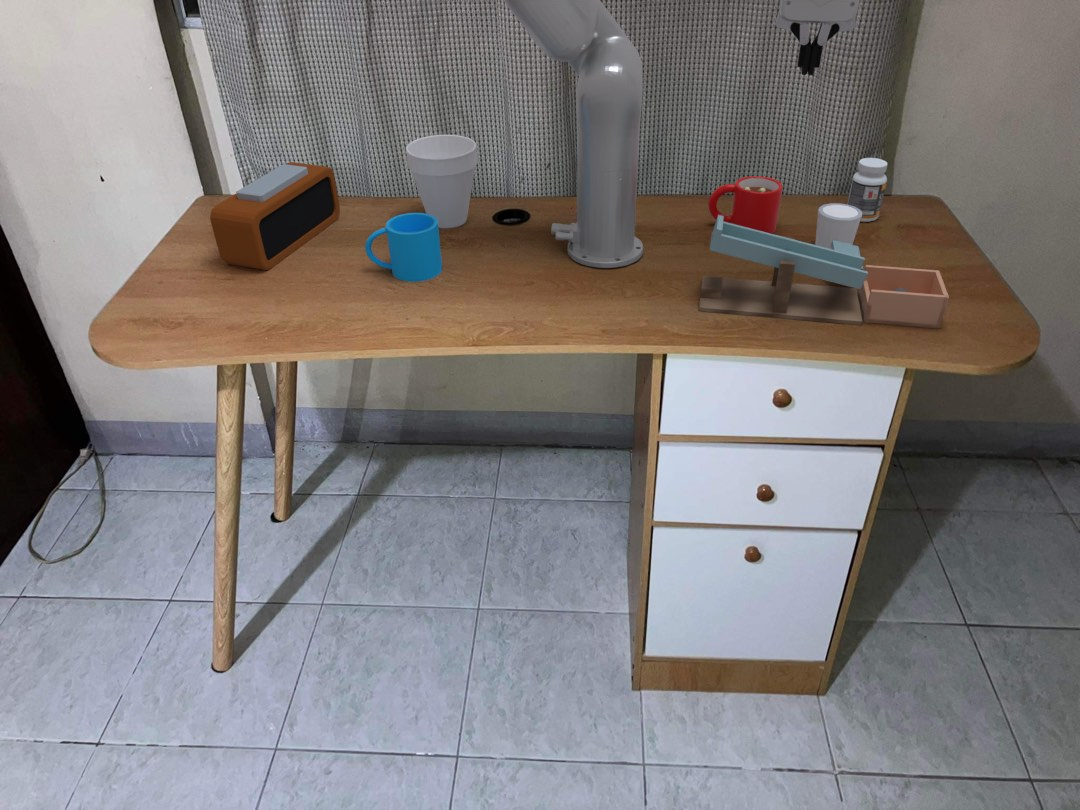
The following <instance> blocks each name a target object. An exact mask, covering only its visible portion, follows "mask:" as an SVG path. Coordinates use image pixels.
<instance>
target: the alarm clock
mask: <svg viewBox="0 0 1080 810" xmlns="http://www.w3.org/2000/svg"><path fill="white" fill-rule="evenodd" d="M336 183H337V182H336V178H335V174H334V170H333V169H332V168H331V167H328V166H324V165H319V164H318V165H317V164H308V163H301V162H293V161H290V162H287V163H284V164H281V165H279V166H277V167H275V168H274V169H272V170H271V171H269V172H267V173H266V174H264V175H262V176H260V177H259V178H257V179H255V180H254V181H252V182H251V183H249V184H247V185H245V186H244V187H241V188H240V189H239V190H237V191H236V192H235V193H234V194H233V195H231V196H229V197H228V198H226V199H224V200H223V201H221V202H219V203H217V204H216V205H215V206H213V207H212V208H211V210H210V217H209V219H210V223H211V224H210V225H211V227H212V231H213V236H214V239H215V243H216V247H217V251H218V253H219V257H220V259H221V261H223V262H224V263H225V264H229V265H233V266H239V267H245V268H251V269H255V270H256V269H257V270H263V271H270V270H272V269H273V268H275V266H277V265H279V264H280V263H281V262H282V261H284V260H285V259H286V258H288V257H289V256H291V255H292V254H293V253H295V252H296V251H297V250H299V249H300V248H301V247H303V246H304V245H305V244H307V243H308V242H310V241H311V240H312V239H313V238H315V237H316V236H318V235H319V234H320V233H322V232H323V231H324V230H326V229H327V228H328V227H330V226H331V225H333V224H334V223H335V222H337V220H338V219H339V217H340V213H341V209H340V208H341V207H340V206H341V205H340V201H339V196H338V189H337V184H336Z"/></svg>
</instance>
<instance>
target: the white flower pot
mask: <svg viewBox="0 0 1080 810" xmlns="http://www.w3.org/2000/svg"><path fill="white" fill-rule="evenodd" d="M477 146H478V145H477V143H476V142H475V140H473V139H472V138H470V137H467V136H465V135H464V136H463V135H457V134H435V135H428V136H423V137H419V138H418V139H415V140H412V141H410V142H409V143H408V144H407V145H406V148H405V152H406V165H407V166H406V167H407V168H408V169H409V170H410V172H411V175H412V177H413V181H414V183H415V185H416V188H417V191H418V194H419V198H420V201H421V202H422V205H423V209H424V211H425V214H429V215H432V216H434V217H435V218H436V219H437V221H438V229H453V228H457V227H460V226H463V225H464V224H465V223H466V222H467V220H468V213H469V206H470V201H471V196H472V188H473V183H474V176H475V170H476V166H477V165H478V164H479V163H478V162H479V159H478V151H477Z"/></svg>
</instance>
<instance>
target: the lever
mask: <svg viewBox="0 0 1080 810" xmlns="http://www.w3.org/2000/svg"><path fill="white" fill-rule="evenodd" d="M723 218H724V216H721V215H718V217H717V220H716V219H715V220H716V221H715V223H714V227H713V230H712V233H711V236H710V245H709V251H711V252H714V253H719V254H722V255H726V256H730V257H735V258H738V259H742V260H746V261H750V262H753V263H758V264H761V265H765V266H769V267H771V268H772V267H773V268H774V267H776V268H779V265H780V260H782V261H795V268H794V273H797V274H800V275H803V276H807V277H811V278H814V279H819V280H824V281H827V282H829V283H830V282H831V283H835V284H838V285H842V286H846V287H848V288H856V290H857V289H858V290H860V289H861V287H862V285H863V283H864V281H865V279H866V277H867V275H868V272H867V271H864V266H863V264H864V262H865V260H866V259H865V257H863V256H861V253H860V252H861V251H860V248H859V245H855V244H852V245H851V244H847V243H844V242H840V241H836V240H832V243H831V249H829V248H825V247H821V246H817V245H815V244H812V243H809V242H804V241H800V240H796V239H794V238H793V239H790V238H786V237H787V236H781V235H777V234H774V233H773V234H770V233H766V232H762V231H759V230H755V229H751V228H747V227H743V226H739V225H735V224H731V223H727V222H724V221H723Z"/></svg>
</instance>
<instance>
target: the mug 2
mask: <svg viewBox="0 0 1080 810" xmlns="http://www.w3.org/2000/svg"><path fill="white" fill-rule="evenodd" d="M729 193H733V198H732V199H733V200H732V208H731V215H730V214H729V215H728V214H723V213H722V212H720V211H719V209H718V201H719V200H720V198H721V197H722V196H723V195H725V194H729ZM782 193H783V184H782V183H781V182H780V181H779V180H777V179H774V178H771V177H768V176H760V175H754V176H753V175H752V176H751V175H750V176H745V177H744V176H743V177H741V178H739V179H738V180H736V182H735V183H728V184H723V185H721V186H718V188H716V189H715V190H714V191H713V192H712V193H711V195H710V198H709V200H708V211H709V213H710V215H711V216H712V218H713V219H714V220H717V217H718V215H721V216H724V218H723V221H724V222H727V223H731V224H735V225H739V226H743V227H747V228H751V229H755V230H759V231H762V232H766V233H770V234H774V233H775V232H776V231H777V224H778V219H779V211H780V207H781V199H782Z"/></svg>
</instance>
